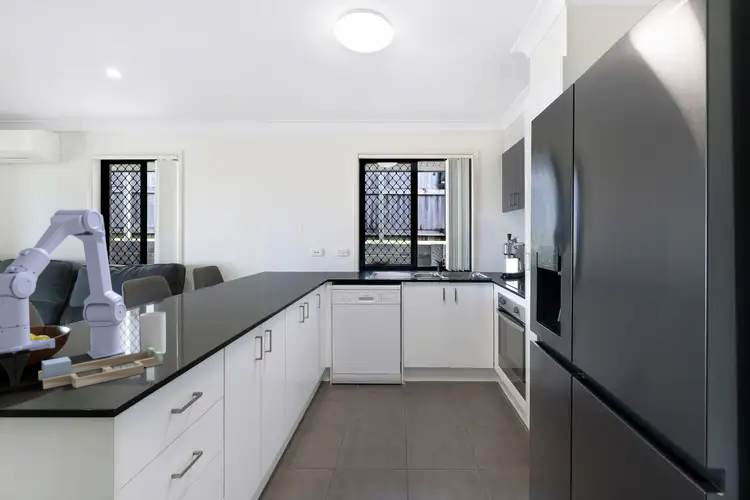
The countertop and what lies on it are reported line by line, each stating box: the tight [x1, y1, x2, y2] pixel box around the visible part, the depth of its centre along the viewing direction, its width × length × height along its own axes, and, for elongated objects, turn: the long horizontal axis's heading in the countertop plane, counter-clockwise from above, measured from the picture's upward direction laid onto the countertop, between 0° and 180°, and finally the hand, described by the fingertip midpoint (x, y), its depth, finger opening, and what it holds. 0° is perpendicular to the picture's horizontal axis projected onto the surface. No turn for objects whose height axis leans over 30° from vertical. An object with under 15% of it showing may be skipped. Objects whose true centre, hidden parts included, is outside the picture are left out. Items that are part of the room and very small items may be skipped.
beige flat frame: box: [37, 347, 164, 390], centre depth 102 cm, size 14×25×3 cm, turn 135°
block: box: [41, 356, 72, 383], centre depth 97 cm, size 5×5×5 cm
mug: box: [139, 311, 167, 355], centre depth 121 cm, size 10×7×12 cm, turn 20°
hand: (15, 384), depth 92 cm, fingers closed
